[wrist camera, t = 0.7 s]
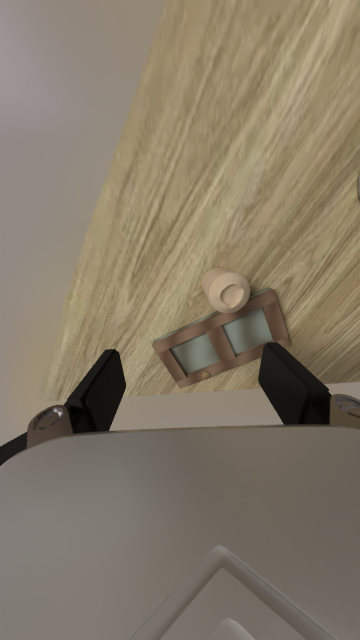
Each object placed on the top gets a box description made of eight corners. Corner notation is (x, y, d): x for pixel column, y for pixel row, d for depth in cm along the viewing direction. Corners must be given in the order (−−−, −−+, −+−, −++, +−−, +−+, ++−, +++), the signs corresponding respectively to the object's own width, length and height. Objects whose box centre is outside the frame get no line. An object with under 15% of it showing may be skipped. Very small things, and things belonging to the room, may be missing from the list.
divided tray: (268, 287, 30) (275, 290, 28) (284, 339, 34) (292, 346, 32) (153, 340, 34) (151, 347, 32) (180, 381, 38) (180, 390, 36)
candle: (227, 299, 31) (247, 319, 22) (198, 295, 31) (206, 314, 22) (235, 269, 29) (260, 276, 20) (204, 265, 29) (215, 270, 20)
